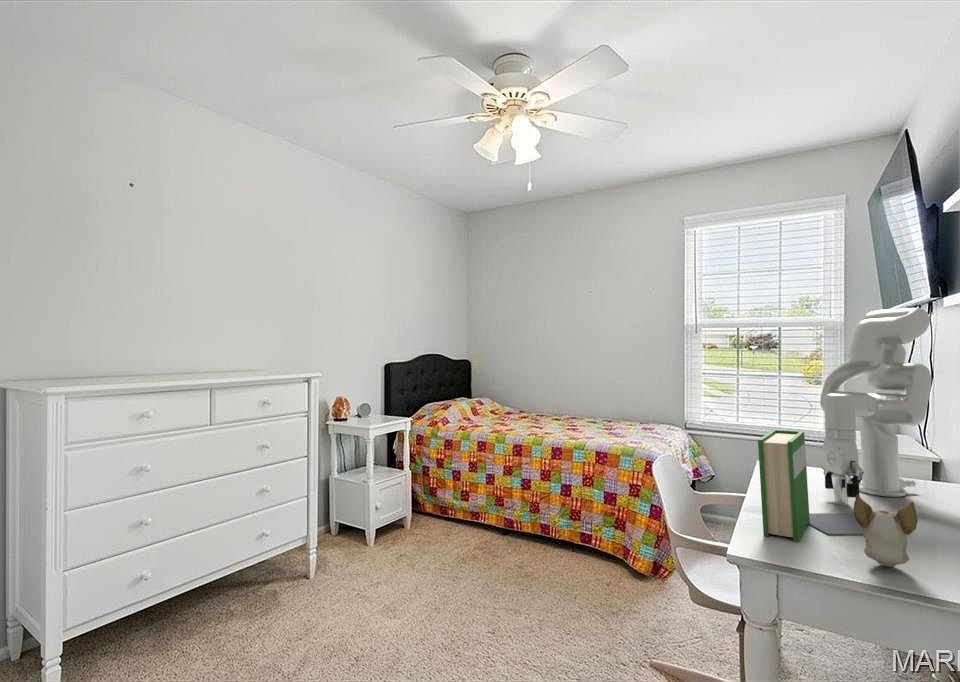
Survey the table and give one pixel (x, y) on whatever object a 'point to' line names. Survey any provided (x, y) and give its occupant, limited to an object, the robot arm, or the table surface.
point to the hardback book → (784, 483)
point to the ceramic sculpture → (886, 532)
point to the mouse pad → (836, 523)
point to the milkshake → (840, 489)
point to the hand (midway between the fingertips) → (841, 492)
